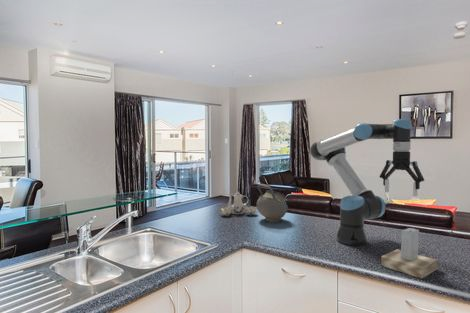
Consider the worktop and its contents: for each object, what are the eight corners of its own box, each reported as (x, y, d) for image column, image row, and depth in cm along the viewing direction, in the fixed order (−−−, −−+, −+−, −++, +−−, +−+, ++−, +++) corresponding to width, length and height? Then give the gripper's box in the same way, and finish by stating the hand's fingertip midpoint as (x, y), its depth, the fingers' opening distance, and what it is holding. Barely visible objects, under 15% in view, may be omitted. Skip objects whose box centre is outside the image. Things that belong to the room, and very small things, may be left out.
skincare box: (408, 255, 134) (408, 227, 133) (418, 258, 130) (419, 229, 129) (400, 258, 130) (400, 229, 130) (410, 261, 126) (411, 232, 126)
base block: (381, 265, 133) (381, 256, 132) (397, 257, 141) (397, 249, 141) (421, 278, 120) (422, 268, 120) (436, 269, 128) (436, 259, 128)
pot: (262, 225, 196) (262, 185, 194) (252, 217, 216) (252, 181, 214) (292, 223, 201) (292, 184, 199) (280, 215, 221) (280, 180, 219)
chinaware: (221, 220, 216) (221, 196, 214) (217, 212, 232) (217, 190, 230) (259, 217, 222) (260, 195, 220) (253, 210, 238) (254, 189, 236)
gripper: (373, 150, 160) (372, 191, 161) (426, 151, 140) (424, 198, 141) (380, 150, 165) (379, 190, 166) (433, 151, 145) (431, 196, 146)
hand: (400, 194), depth 153 cm, fingers open, 13 cm apart
